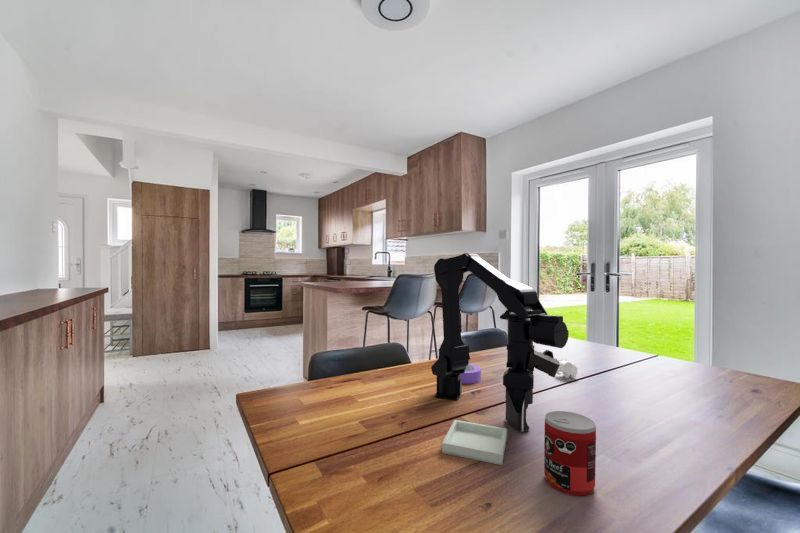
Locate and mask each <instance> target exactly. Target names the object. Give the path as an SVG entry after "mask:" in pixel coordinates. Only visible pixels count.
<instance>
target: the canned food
mask: <svg viewBox="0 0 800 533" xmlns="http://www.w3.org/2000/svg"><path fill="white" fill-rule="evenodd" d="M543 446H544V447H543V448H544V451H543V452H544V457H543V458H544V459H543V460H544V464H543V465H544V468H543V469H544V472H543V473H544V477H545V480H546V482H547V484H548V485H550V486H551V487H552V488H553V489H555V490H556V491H557V492H558V491H559V492H561V493H563V494H565V495H569V496H573V497H574V496H575V497H584V496H588V495H590V494H592V493H593V492H594V489H595V487H596V462H597V460H596V458H597V457H596V455H597V454H596V452H597V450H596V448H597V447H596V446H597V426H596V422H595V421H594V420H593V419H592V418H590V417H588V416H585V415H582V414H580V413H575V412H572V411H564V410H555V411H550V412H547V413H546V414H545V417H544V444H543Z"/></svg>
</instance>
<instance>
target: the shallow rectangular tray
mask: <svg viewBox="0 0 800 533" xmlns="http://www.w3.org/2000/svg"><path fill="white" fill-rule="evenodd" d="M507 439H508V428H505V427H499V426H494V425H488V424H483V423H476V422H470V421H464V420H458V419H454V420H453V421H452V423H451V425H450V428H449V430H448V432H446V435H445V436H444V439H443V440H442V442H441V444H442V445H441V451H442V452H441V453H442V454H446V455H450V456H455V457H461V458H463V459H464V458H465V459H469V460H473V461H474V460H475V461H480V462H484V463H489V464H493V465H499V466H503V463H504V459H505V452H506V445H507Z"/></svg>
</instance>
